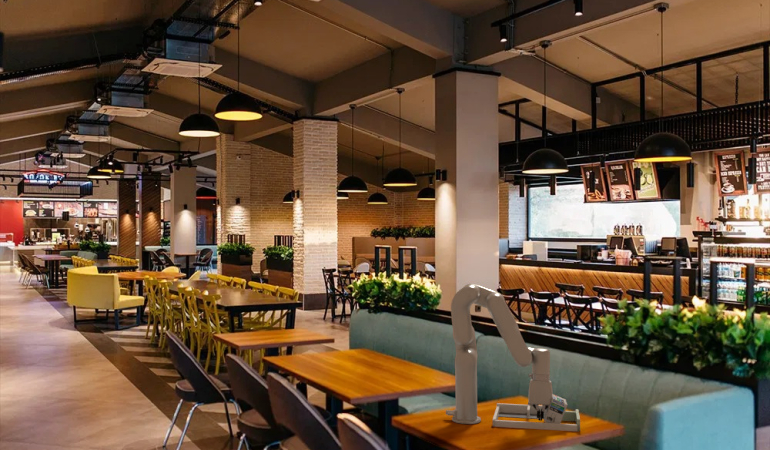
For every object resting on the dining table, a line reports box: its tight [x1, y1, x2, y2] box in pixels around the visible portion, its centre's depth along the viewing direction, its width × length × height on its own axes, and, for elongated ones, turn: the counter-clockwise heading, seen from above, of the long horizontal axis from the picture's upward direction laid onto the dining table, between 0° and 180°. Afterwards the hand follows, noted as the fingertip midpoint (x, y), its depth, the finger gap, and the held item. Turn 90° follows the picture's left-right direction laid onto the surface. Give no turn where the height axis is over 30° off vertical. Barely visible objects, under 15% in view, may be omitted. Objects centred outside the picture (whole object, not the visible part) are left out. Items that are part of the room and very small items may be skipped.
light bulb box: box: [543, 393, 569, 424], centre depth 294 cm, size 11×7×11 cm, turn 169°
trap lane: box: [492, 402, 581, 432], centre depth 300 cm, size 36×25×5 cm
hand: (540, 419), depth 296 cm, fingers closed
